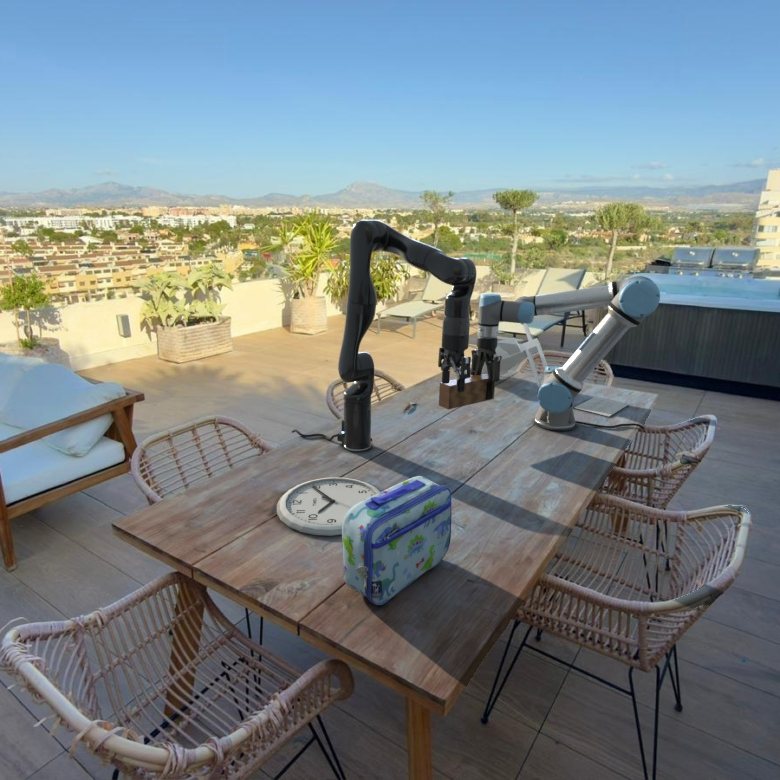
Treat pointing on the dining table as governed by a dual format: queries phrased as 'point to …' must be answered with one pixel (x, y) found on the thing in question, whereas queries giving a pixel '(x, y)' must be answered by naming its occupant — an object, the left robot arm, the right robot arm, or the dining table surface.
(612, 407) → the grey rectangular panel
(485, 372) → the white plastic object
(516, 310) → the right robot arm
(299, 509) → the wall clock
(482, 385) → the bar
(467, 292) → the left robot arm
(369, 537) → the lunch box
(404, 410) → the fork
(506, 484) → the dining table surface
